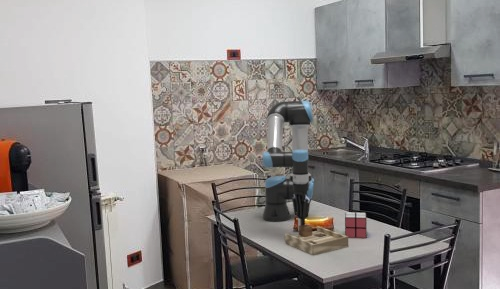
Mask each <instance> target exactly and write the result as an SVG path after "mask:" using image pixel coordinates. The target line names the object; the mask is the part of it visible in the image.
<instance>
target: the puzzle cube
mask: <svg viewBox="0 0 500 289" xmlns="http://www.w3.org/2000/svg"><path fill="white" fill-rule="evenodd" d="M344 215H345V216H344V226H345V227H344V235H345V236H348V239H349V238H351V239H352V238H356V239H366V238H367V231H368V230H367V213H366V212H351V211H350V212H347V211H346V212H345V214H344Z"/></svg>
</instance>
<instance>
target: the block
mask: <svg viewBox="0 0 500 289" xmlns="http://www.w3.org/2000/svg"><path fill="white" fill-rule="evenodd" d="M312 232H313V226H312V225H309V224H306V223H305V225H300V226H299V231H298V235H300V236H303V237H308V236H312Z"/></svg>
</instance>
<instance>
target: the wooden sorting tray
mask: <svg viewBox="0 0 500 289" xmlns="http://www.w3.org/2000/svg"><path fill="white" fill-rule="evenodd" d="M284 237H285V238H284V239H285V244H287V245H289V246H291V247H293V248H297V250H298V249H299V250H300V251H304V252H305V253H308V254H310V255H313V256H316V255H320V254H324V253H328V252H331V251H335V250H336V251H337V250H339V249H344V248H347V247H349V238H348V236H345V234H341V233H338V232H336V231H333V230H330V229H327V228H324V227H323V226H322V227H321V226H316V230H314V231H312V236H308V237H303V236H300V235H299V234H297V235H292V234H289V233H285V236H284Z"/></svg>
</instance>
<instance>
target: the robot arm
mask: <svg viewBox="0 0 500 289" xmlns="http://www.w3.org/2000/svg"><path fill="white" fill-rule="evenodd" d="M313 122H314V118H313V110H312V105H311V102H309V101H308V100H294V101H292V100H290V101H285V100H284V101H280V102H277V103H275V104H273V106H272V107H271V108H270V109H269V110H268V113H267V115H266V124H267V126H268V127H267V143H266V144H267V146H266V151H263V153H262V167H264V168H270V169H271V168H272V169H273V168H292V173H290V175H289V178H287V176H286V175H275V176H271V177H268V178H266V179H265V182H264V184H265V185H264V188H265V206H264V209H263V213H262V219H263V220H265V221H268V222H285V221H289V220H290V219H291V214H290V213H291V212H290V211H289V208H288V205H287V203H288V202H287V201H290V200H291V201H292V206H293V211H294V212H293V214H294V215H295V216H296V218H297V230H298V232H299V226H300V225H305V224H306V218H308V217H309V214H310V213H309V212H310V206H311V202H312V197H313V194H314V183H315V179H314V178H313V177H312V174H311V173H310V172H309V135H308V134H309V133H308V132H309V130H308V129H309V127H310V126H311V123H313ZM285 123H287V124H288V125H289V127H290V128H291V138H292V139H291V141H292V143H291V144H292V147H291V149H292V151H283V125H284V124H285Z"/></svg>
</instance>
